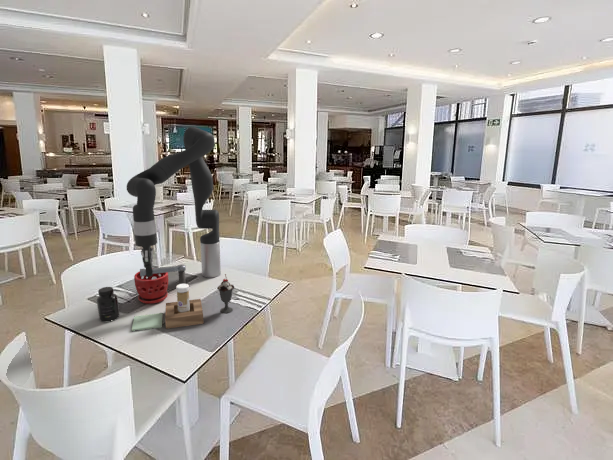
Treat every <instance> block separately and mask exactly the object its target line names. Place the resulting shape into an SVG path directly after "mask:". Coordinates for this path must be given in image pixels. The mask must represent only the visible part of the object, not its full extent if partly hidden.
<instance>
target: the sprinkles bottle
mask: <svg viewBox="0 0 613 460" xmlns="http://www.w3.org/2000/svg"><path fill="white" fill-rule="evenodd" d="M189 290H190V286H189V284H188V283H186V284H177V285H176V286H175V291H176V298H177V300H176V302H178V303H177V304H178V313H185V312H190V303H189V300H190V294H189Z"/></svg>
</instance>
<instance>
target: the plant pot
mask: <svg viewBox="0 0 613 460" xmlns="http://www.w3.org/2000/svg"><path fill="white" fill-rule="evenodd" d="M153 268H154V267H152V269H153ZM154 277H155V278H154ZM133 278H134V286H135V289H136V290H135V291H136V292H137V294H138V296H137V298H138V301H140V302H141V303H143V304H146V305H152V304H159V303H161V302H163V301H164V300H166V298H168V295H169V294H168V287H169V272H166V273H157V274H153V276H152V277H147V276H146V275H145V276H140V270H139V271H137V272H136V273H135V274H134V275H133ZM153 278H154V279H153Z"/></svg>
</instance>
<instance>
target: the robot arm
mask: <svg viewBox="0 0 613 460" xmlns="http://www.w3.org/2000/svg"><path fill="white" fill-rule="evenodd" d="M183 145H184V150H182V151H179V152H175V153H172V154H168V155H166V156H164V157H162V158H161V159H159V160H158V161H157V162H155V163H154V164H153V165H151V166H150V167H149V168H147V169H145V170H143V171H141V172H139V173H137V174H135V175H133V177H131V178H130V179H129V180H128V181H127V184H126V192H127V193H128V194H129V195H130V196H132V197H135V198H137V201H136V204H134V205H133V207H132V219H133V234H134V244H135V246H136V247H141V250H140V254H141V255H140V256H141V257H142V258H141V259H142V263H143V267H144V268H143V269H146V276H147V277H146V278H148V277H152V276H153V271H152V268H153V264H154V263H153V262H154V261H153V259H154V248H153V247H151V246H156V245H157V244H158V235H157V225H156V222H155V221H156V220H155V211H154V209H155V203H156V194H157V189H156V185H160V184H163V183H165V182H166V181H167V180H169V179H170V178H171V177H172V176H175V174H177V172H179V171H180V170H181V169H182V170H183V168H185V167H186V166H188V168H189V173H190V181H191V183H190V184H191V189H192V190H191V191H192V193H193V201H194V211H195V223H196V224H195V225H196V226H197V228H198V229H200V230H201V229H202V230H206V229H207V230H209V229H210V232H207V233H204V234H203V235H201V236H200V238H199V242H200V246H199V247H200V259H201V262H200V263H201V276H202V277H205V278H217V277H219V276H220V275H222V273H221V272H222V271H221V266H222V265H221V246H220V245H221V244H220V213H219V211H218V210H217V209H203V208H204V205H205V203H206V202H207V201H208V200H209V198H210V197H211V195H212V193H213V191H214V181H213V180H214V179H213V175H212V172H211V170H210V169H209V166H208V164H207V163H206V161H205V160H204V156H206V155H207V154H209V153H210V152H212V150H213V149H214V147H215V137H214V135H213V134H212V133H210V132H209V131H206V130H203V129H201V128H199V127H195V126H189V127H187V128H186V129H185V131H184V134H183ZM211 229H212V230H211ZM152 278H153V277H152Z"/></svg>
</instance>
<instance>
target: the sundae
mask: <svg viewBox="0 0 613 460" xmlns="http://www.w3.org/2000/svg"><path fill="white" fill-rule="evenodd" d="M224 275H225V278H223V279H222V281H221V283H220V284H219V285H218V286H217V290H218V293H219V297H220V301H221V302H222V303H224V307H222V308H221V309H220V313H222V314H229V313H232V312H233V310H234V309H233V308H232V307H229V303H230V302H231V301H232V296H233V290H234V289H235V286H234V284H231V282H229V279H228V277H227V274H226V273H225V274H224Z"/></svg>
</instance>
